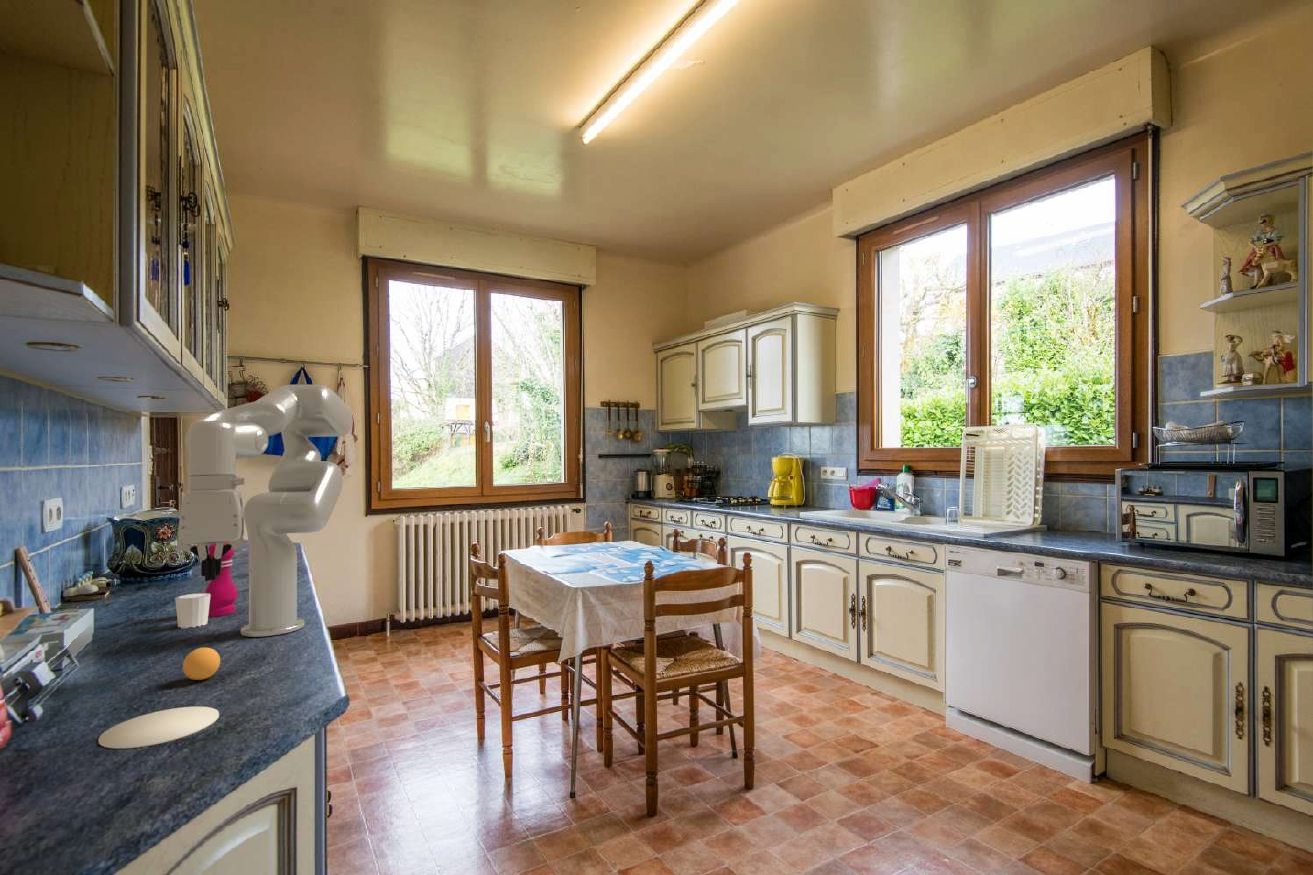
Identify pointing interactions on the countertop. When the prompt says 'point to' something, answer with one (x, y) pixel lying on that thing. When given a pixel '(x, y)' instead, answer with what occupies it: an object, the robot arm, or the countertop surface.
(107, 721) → the countertop surface
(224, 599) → the pepper mill
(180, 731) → the disc
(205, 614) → the white fluted cup
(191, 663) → the ball
